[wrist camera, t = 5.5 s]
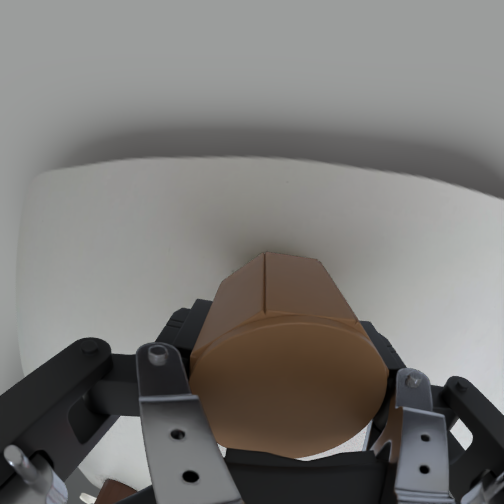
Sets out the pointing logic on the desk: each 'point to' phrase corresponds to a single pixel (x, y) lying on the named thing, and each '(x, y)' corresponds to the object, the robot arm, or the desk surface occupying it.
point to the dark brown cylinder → (113, 492)
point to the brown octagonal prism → (285, 361)
